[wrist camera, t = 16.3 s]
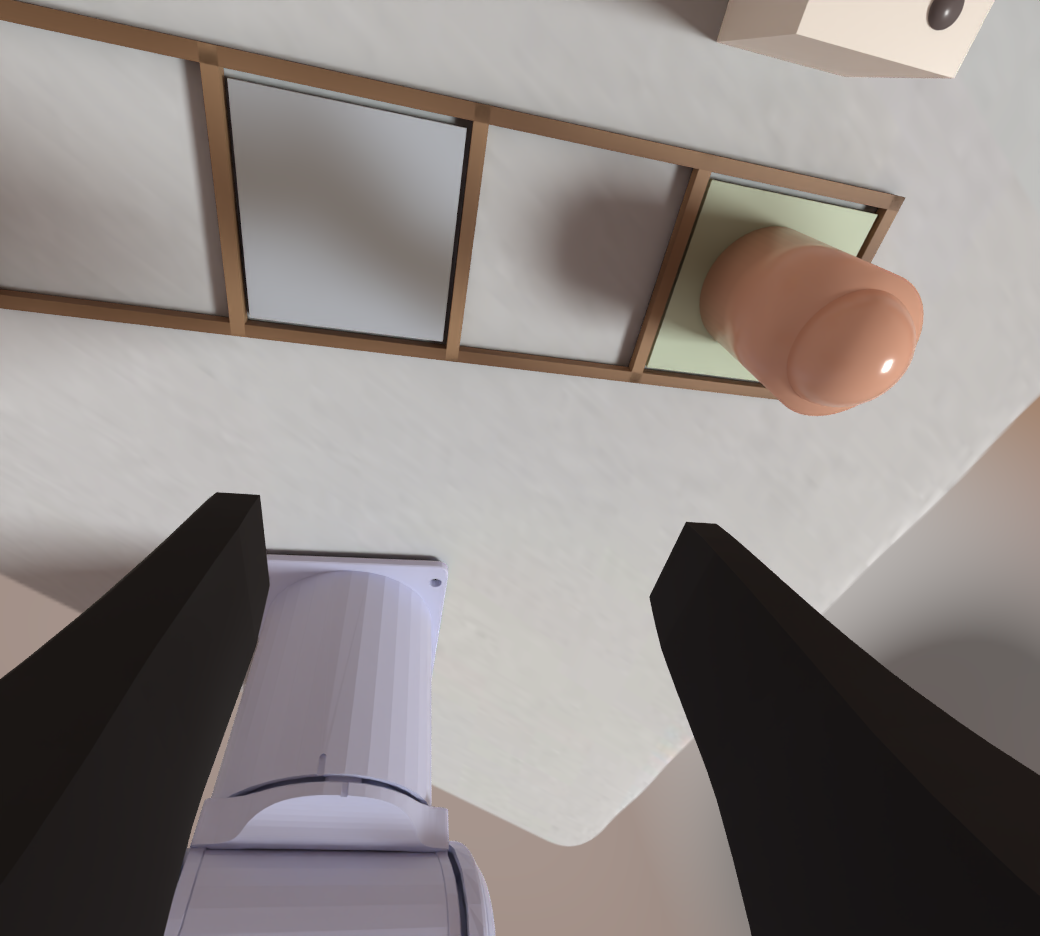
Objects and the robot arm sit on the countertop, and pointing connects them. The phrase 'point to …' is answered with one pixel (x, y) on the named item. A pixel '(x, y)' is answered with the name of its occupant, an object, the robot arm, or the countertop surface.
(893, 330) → the peach domed cylinder
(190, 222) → the countertop surface
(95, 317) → the brown divided frame
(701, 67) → the countertop surface
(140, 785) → the robot arm
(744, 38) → the die
